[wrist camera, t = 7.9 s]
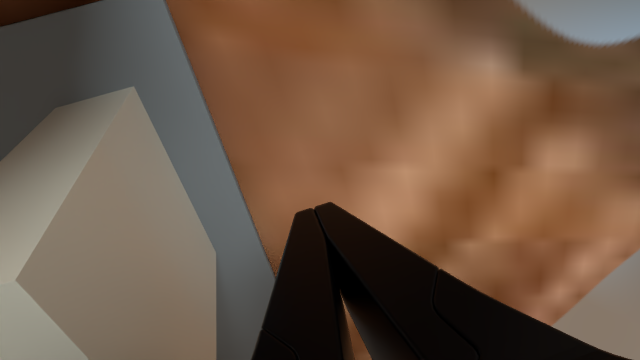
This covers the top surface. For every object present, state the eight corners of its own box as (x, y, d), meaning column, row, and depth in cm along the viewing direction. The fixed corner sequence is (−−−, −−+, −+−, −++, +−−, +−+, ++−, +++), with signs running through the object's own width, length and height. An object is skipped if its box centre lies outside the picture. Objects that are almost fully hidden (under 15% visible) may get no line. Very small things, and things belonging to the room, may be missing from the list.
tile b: (216, 253, 13) (216, 495, 7) (157, 271, 13) (108, 536, 7) (133, 85, 10) (14, 280, 4) (53, 108, 10) (-193, 345, 4)
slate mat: (321, 394, 20) (323, 401, 19) (63, 487, 18) (60, 496, 18) (159, -15, 9) (157, -14, 9) (-441, 141, 8) (-469, 149, 8)
